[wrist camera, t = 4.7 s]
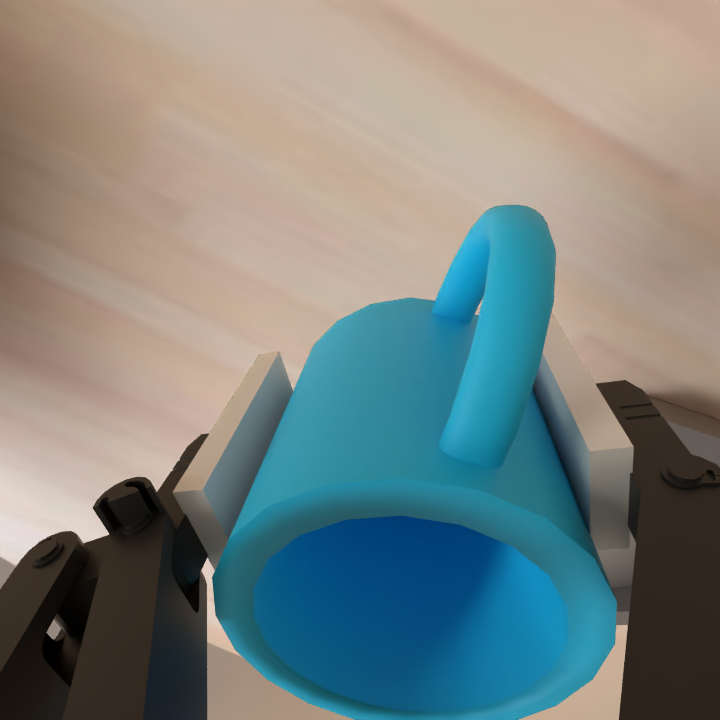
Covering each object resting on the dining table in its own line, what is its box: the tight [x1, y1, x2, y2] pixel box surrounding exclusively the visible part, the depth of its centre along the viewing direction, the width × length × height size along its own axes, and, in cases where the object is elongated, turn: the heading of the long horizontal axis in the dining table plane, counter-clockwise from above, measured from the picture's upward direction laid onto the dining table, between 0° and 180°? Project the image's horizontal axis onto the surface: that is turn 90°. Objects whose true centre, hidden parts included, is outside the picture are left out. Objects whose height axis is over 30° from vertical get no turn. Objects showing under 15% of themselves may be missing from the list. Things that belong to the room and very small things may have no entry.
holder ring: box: [597, 396, 720, 625], centre depth 31 cm, size 18×18×2 cm
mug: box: [212, 205, 617, 720], centre depth 12 cm, size 12×8×8 cm
